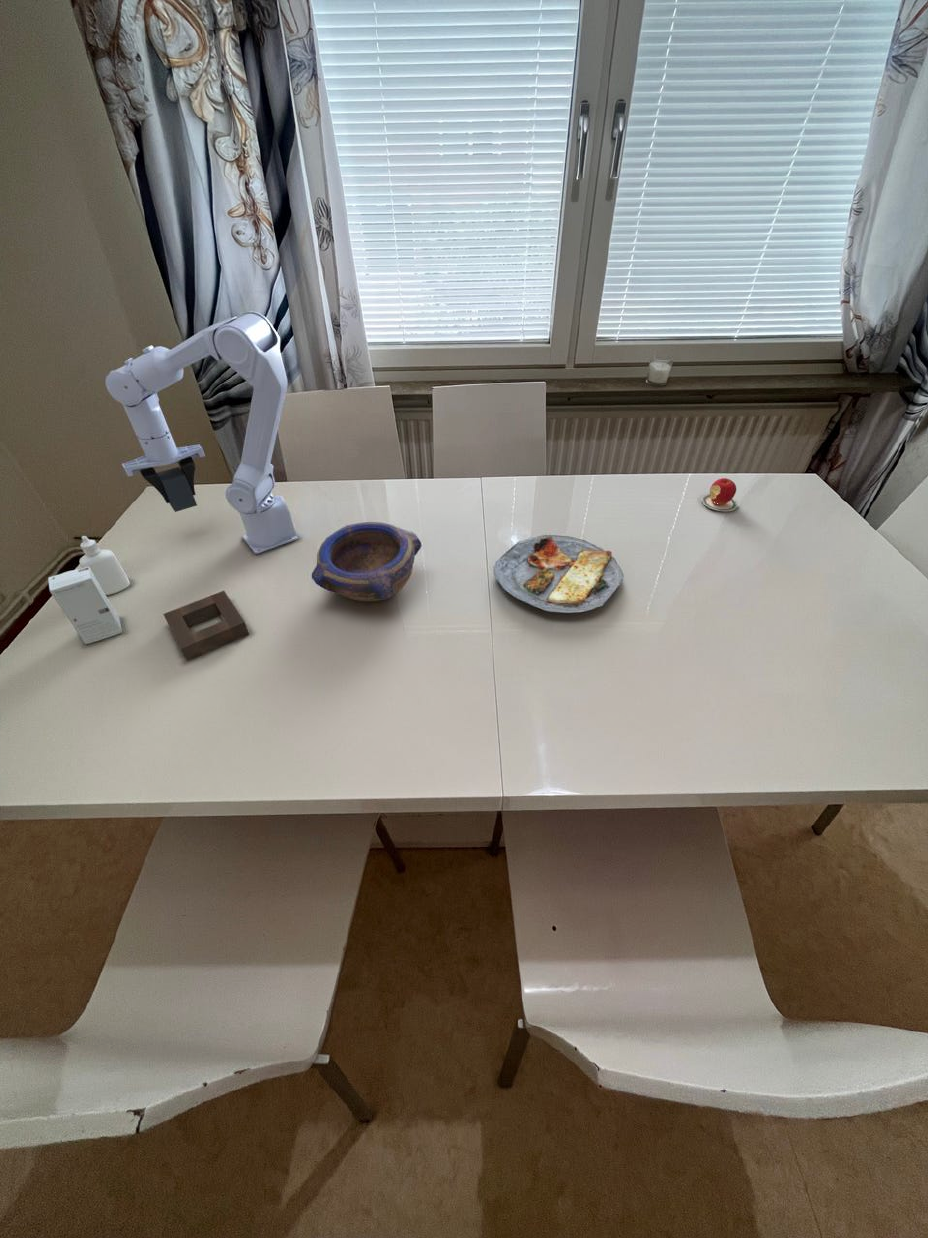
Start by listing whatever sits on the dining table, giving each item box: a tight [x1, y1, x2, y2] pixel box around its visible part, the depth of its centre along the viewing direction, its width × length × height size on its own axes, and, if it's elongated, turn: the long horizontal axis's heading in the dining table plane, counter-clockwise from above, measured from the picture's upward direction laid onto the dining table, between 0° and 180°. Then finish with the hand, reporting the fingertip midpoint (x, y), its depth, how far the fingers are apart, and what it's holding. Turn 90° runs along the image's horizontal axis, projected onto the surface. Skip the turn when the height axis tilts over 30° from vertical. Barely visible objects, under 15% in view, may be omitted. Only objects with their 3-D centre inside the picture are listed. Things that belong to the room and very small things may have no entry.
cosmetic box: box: [47, 567, 123, 645], centre depth 87 cm, size 6×4×12 cm
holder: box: [162, 590, 250, 662], centre depth 91 cm, size 11×11×3 cm
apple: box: [701, 477, 738, 512], centre depth 121 cm, size 8×8×6 cm
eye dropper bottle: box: [79, 535, 131, 596], centre depth 96 cm, size 4×6×12 cm
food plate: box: [492, 534, 624, 614], centre depth 101 cm, size 25×23×4 cm
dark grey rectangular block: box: [156, 466, 198, 513], centre depth 106 cm, size 4×4×7 cm
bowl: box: [311, 521, 422, 602], centre depth 97 cm, size 18×18×10 cm
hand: (180, 497), depth 107 cm, fingers closed on dark grey rectangular block, 4 cm apart
